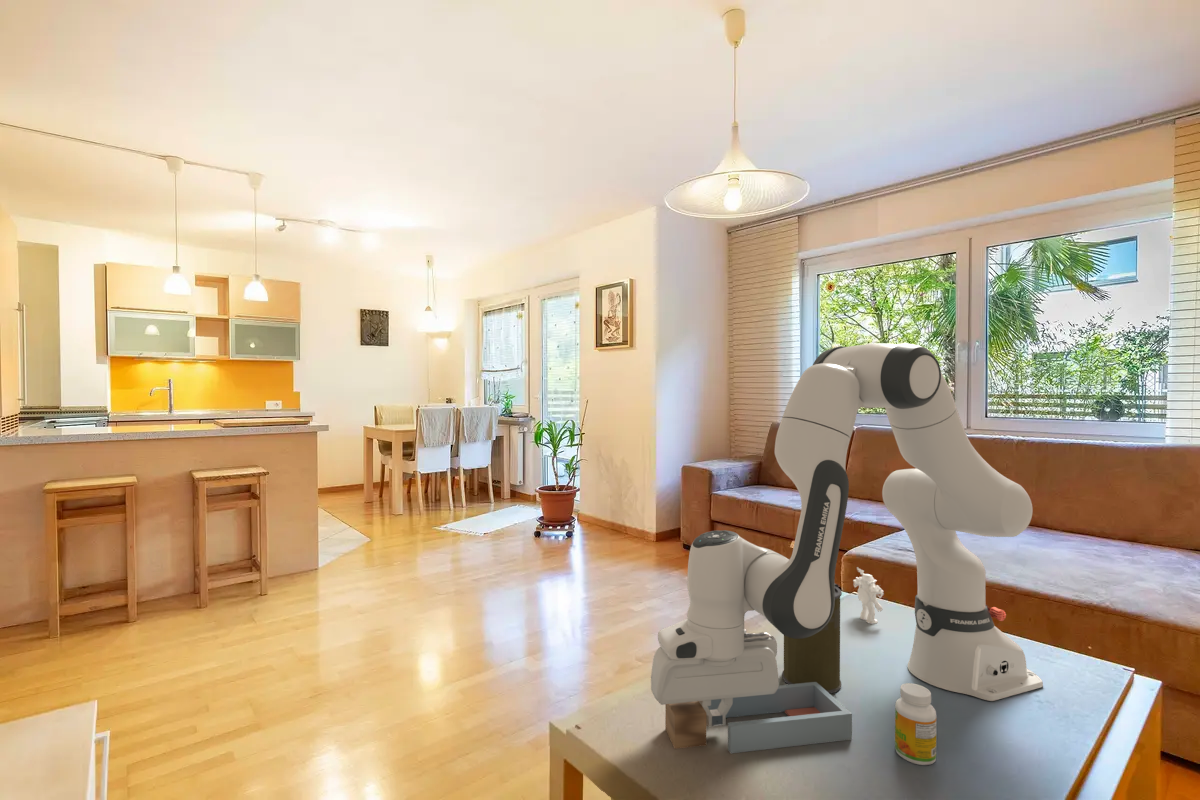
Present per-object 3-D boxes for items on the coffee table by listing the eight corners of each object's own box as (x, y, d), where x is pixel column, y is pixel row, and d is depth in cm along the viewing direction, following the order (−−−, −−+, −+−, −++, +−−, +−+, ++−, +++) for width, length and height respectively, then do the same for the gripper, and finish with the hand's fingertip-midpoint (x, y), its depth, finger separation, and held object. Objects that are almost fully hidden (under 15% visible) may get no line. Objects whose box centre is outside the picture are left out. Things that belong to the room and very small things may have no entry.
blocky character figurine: (849, 613, 139) (849, 565, 139) (863, 612, 140) (864, 564, 140) (873, 628, 130) (873, 576, 130) (888, 627, 131) (888, 575, 131)
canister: (810, 699, 99) (811, 586, 99) (770, 673, 109) (770, 569, 109) (855, 687, 104) (856, 578, 104) (813, 662, 113) (813, 563, 113)
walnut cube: (695, 726, 91) (695, 695, 91) (706, 745, 86) (706, 712, 86) (665, 729, 90) (665, 698, 90) (674, 748, 85) (674, 715, 85)
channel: (816, 704, 98) (816, 681, 98) (851, 739, 88) (852, 713, 88) (706, 716, 94) (706, 692, 94) (730, 753, 84) (730, 726, 84)
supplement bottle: (888, 743, 87) (888, 680, 87) (923, 744, 87) (924, 680, 87) (906, 766, 81) (906, 698, 81) (944, 767, 81) (944, 699, 81)
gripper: (767, 623, 94) (767, 706, 94) (648, 632, 90) (647, 718, 90) (786, 639, 88) (786, 728, 88) (659, 649, 84) (659, 742, 84)
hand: (715, 723), depth 89 cm, fingers closed
